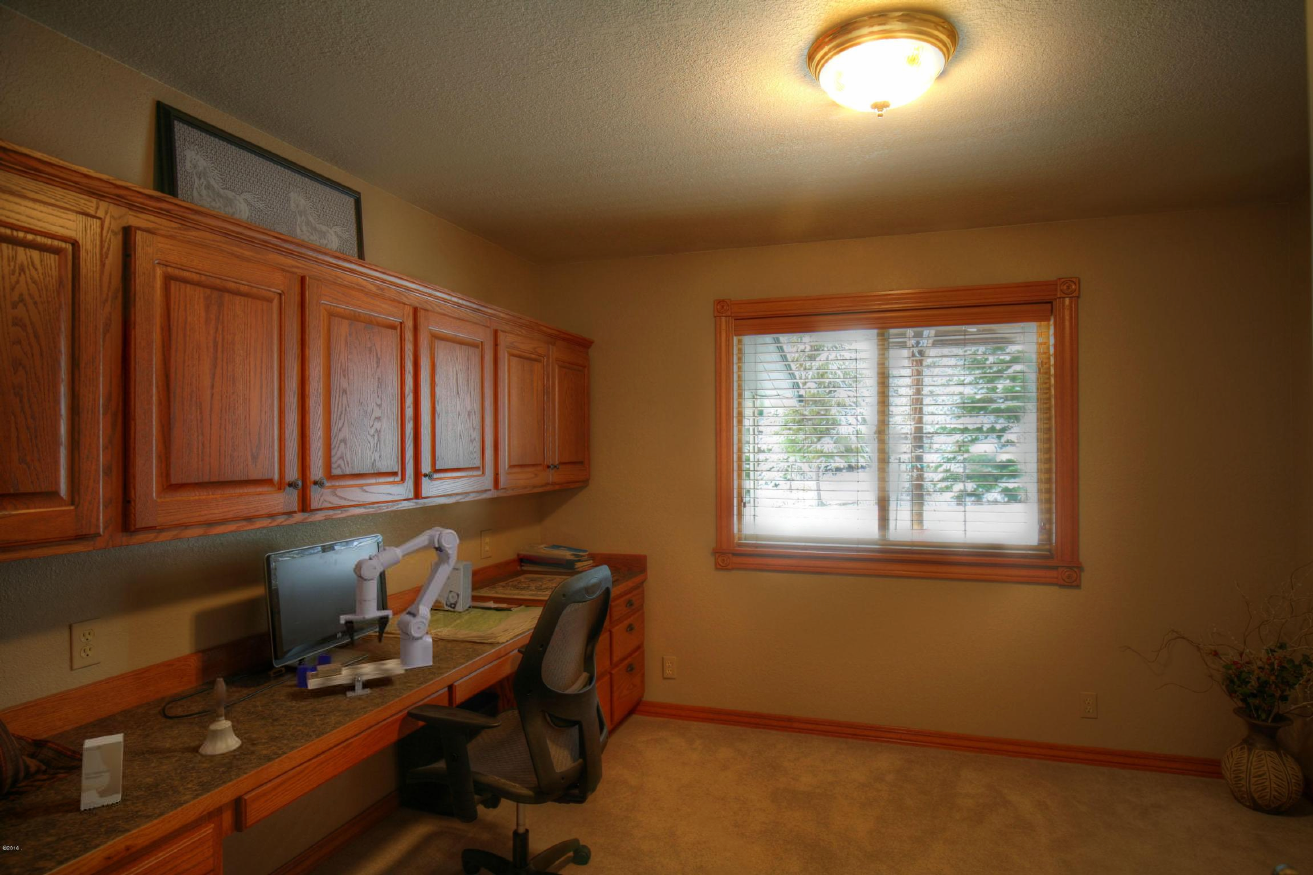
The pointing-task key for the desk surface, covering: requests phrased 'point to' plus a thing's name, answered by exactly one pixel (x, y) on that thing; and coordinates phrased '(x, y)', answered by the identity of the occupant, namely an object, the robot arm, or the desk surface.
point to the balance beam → (357, 673)
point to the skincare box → (101, 771)
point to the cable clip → (310, 670)
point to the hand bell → (219, 727)
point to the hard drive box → (455, 588)
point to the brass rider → (329, 670)
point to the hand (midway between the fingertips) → (366, 643)
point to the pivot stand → (357, 687)
